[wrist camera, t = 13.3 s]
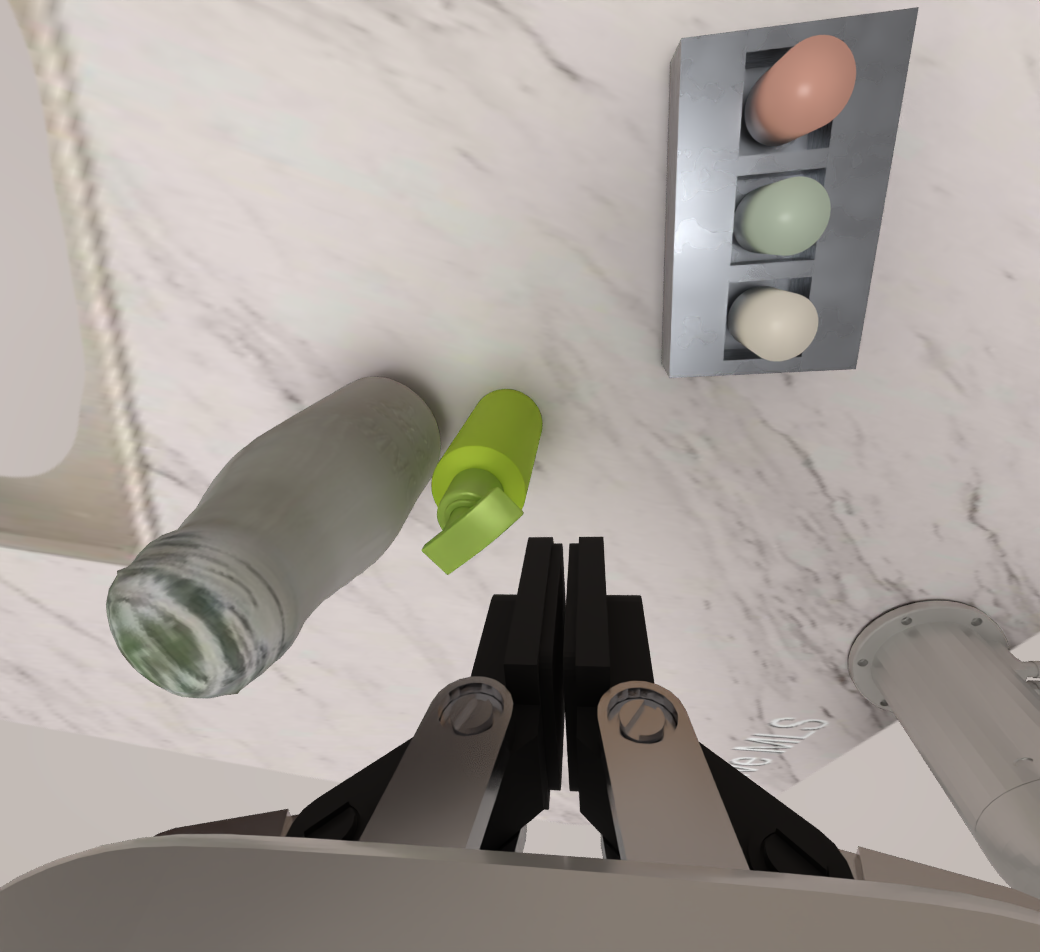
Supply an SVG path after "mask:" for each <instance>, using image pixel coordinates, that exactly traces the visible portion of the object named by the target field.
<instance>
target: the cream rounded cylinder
mask: <svg viewBox="0 0 1040 952" xmlns="http://www.w3.org/2000/svg"><path fill="white" fill-rule="evenodd" d="M728 328H729V331H730V333H731V335H732V336H733V338H734V339H735V340H736V341H738V342H739V343H741V344H742V345H743V346H745V347H746V348H748V349H749V350H751V351H752V352H754V353H755V354H757V355H758V356H760V357H761V358H763V359H765V360H769V361H785V360H789V359H791V358H794V357H796V356H797V355H799V354H801V353H802V352H803V351H804V350H805V349H806V348H807V347H808V346H809V345H810V344H811V342H812V341H813V339H814V337H815V335H816V332H817V329H818V314H817V311H816V308H815V307H814V305H813V304H812V302H811V301H810V300H808V299H807V298H806V297H804V296H802V295H800V294H796V293H792V292H789V291H785V290H781V289H777V288H773V287H770V286H757V287H753V288H750V289H748V290H746V291H745V292H743V293H742V294H741V295H739V296H738V297H737V298H736V300H735V301H734V302H733V304H732V306H731V308H730V310H729V313H728Z"/></svg>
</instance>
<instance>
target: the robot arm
mask: <svg viewBox="0 0 1040 952" xmlns="http://www.w3.org/2000/svg"><path fill="white" fill-rule="evenodd" d="M848 669H849V673H850V677H851V679H852V681H853V682H854V684H855V686H856V688H857V689H858V691H859V692H860V693H861V694H862V696H863V697H864V698H866V699H867V700H868V701H869V702H870V703H872V704H874V705H875V706H877V707H879V708H881V709H884V710H887V711H890V712H893V713H894V714H895V716H896V717H897V719H898V720H899V722H900V723H901V725H902V726H903V728H904V729H905V731H906V733H907V734H908V736H909V737H910V739H911V740H912V742H913V743H914V745H915V747H916V748H917V749H918V751H919V753H920V754H921V756H922V757H923V759H924V761H925V762H926V764H927V765H928V767H929V768H930V770H931V771H932V773H933V775H934V776H935V778H936V779H937V781H938V782H939V784H940V785H941V787H942V788H943V790H944V791H945V793H946V795H947V796H948V798H949V799H950V801H951V802H952V804H953V805H954V807H955V808H956V810H957V812H958V813H959V815H960V816H961V818H962V819H963V821H964V823H965V824H966V826H967V827H968V829H969V830H970V832H971V833H972V835H973V836H974V838H975V840H976V841H977V843H978V845H979V846H980V848H981V849H982V851H983V852H984V854H985V856H986V857H987V859H988V860H989V862H990V863H991V865H992V866H993V867H994V868H995V870H996V871H997V873H998V874H999V875H1000V876H1001V877H1002V878H1003V879H1004V880H1005V882H1006V883H1007V884H1008V885H1009V886H1010V887H1011V888H1008V887H1005V886H1001V885H997V884H994V883H990V882H986V881H983V880H979V879H976V878H972V877H968V876H964V875H961V874H957V873H954V872H950V871H946V870H943V869H939V868H936V867H932V866H928V865H925V864H921V863H917V862H914V861H910V860H906V859H903V858H899V857H896V856H892V855H888V854H884V853H881V852H877V851H874V850H870V849H866V848H863V847H859V846H858V849H857V853H856V854H855V853H851V852H847V851H844V850H840V849H838V848H837V847H836V845H835V844H834V843H833V842H832V841H831V840H829V839H828V838H827V837H826V836H825V835H824V834H823V833H822V832H821V831H820V830H818V829H817V828H816V827H814V826H813V825H812V824H810V823H809V822H807V821H806V820H805V819H803V818H802V817H801V816H799V815H798V814H797V813H795V812H794V811H793V810H791V809H790V808H788V807H787V806H786V805H784V804H783V803H782V802H780V801H779V800H778V799H776V798H775V797H773V796H772V795H771V794H769V793H768V792H767V791H765V790H764V789H763V788H761V787H760V786H758V785H757V784H756V783H754V782H753V781H752V780H750V779H749V778H748V777H746V776H745V775H743V774H742V773H741V772H739V771H738V770H737V769H735V768H734V767H733V766H731V765H730V764H728V763H727V762H726V761H724V760H723V759H722V758H720V757H719V756H718V755H716V754H715V753H714V752H712V751H711V750H709V749H708V748H707V747H705V746H704V745H703V744H701V743H700V742H699V741H698V739H697V736H696V734H695V731H694V729H693V726H692V724H691V721H690V719H689V716H688V714H687V711H686V709H685V708H684V706H683V704H682V703H681V701H680V700H679V699H678V698H677V697H676V696H675V695H674V694H673V693H672V692H671V691H669V690H667V689H665V688H663V687H661V686H660V685H657V684H654V678H653V671H652V664H651V658H650V651H649V644H648V638H647V631H646V624H645V617H644V611H643V604H642V598H641V596H640V595H606V579H605V560H604V541H603V537H579V543H570V546H569V563H568V579H567V596H566V601H565V582H564V562H563V546H562V544H554V542H553V537H529V538H528V542H527V547H526V553H525V558H524V563H523V568H522V573H521V578H520V583H519V588H518V593H517V595H503V594H494V595H493V597H492V599H491V603H490V606H489V610H488V614H487V618H486V621H485V625H484V629H483V633H482V636H481V640H480V644H479V647H478V651H477V655H476V659H475V662H474V666H473V670H472V674H471V677H467V678H463V679H459V680H457V681H455V682H453V683H450V684H448V685H447V686H446V687H445V688H443V689H442V690H441V691H440V692H439V693H438V694H437V695H436V697H435V698H434V699H433V701H432V702H431V704H430V706H429V708H428V710H427V712H426V714H425V716H424V718H423V719H422V721H421V723H420V725H419V727H418V729H417V731H416V733H415V735H414V737H413V738H411V739H409V740H408V741H406V742H405V743H403V744H402V745H400V746H398V747H397V748H395V749H394V750H392V751H391V752H389V753H388V754H386V755H384V756H383V757H381V758H380V759H378V760H377V761H375V762H373V763H372V764H370V765H369V766H367V767H366V768H364V769H362V770H361V771H359V772H358V773H356V774H355V775H353V776H352V777H350V778H348V779H347V780H345V781H344V782H342V783H341V784H339V785H338V786H336V787H334V788H333V789H331V790H330V791H328V792H326V793H325V794H323V795H322V796H320V797H319V798H317V799H316V800H314V801H313V802H312V803H311V804H309V805H308V806H307V807H306V808H304V809H303V810H302V812H301V813H300V814H299V815H292V816H291V815H290V812H289V810H288V809H284V810H279V811H273V812H267V813H262V814H255V815H249V816H244V817H237V818H231V819H226V820H220V821H214V822H208V823H202V824H197V825H190V826H184V827H179V828H174V829H171V830H168V831H165V832H162V833H159V834H157V835H155V836H154V837H145V838H138V839H132V840H127V841H122V842H117V843H111V844H106V845H102V846H99V847H96V848H93V849H89V850H86V851H83V852H80V853H76V854H73V855H70V856H66V857H63V858H60V859H58V860H55V861H52V862H50V863H47V864H45V865H43V866H40V867H38V868H36V869H34V870H31V871H29V872H27V873H25V874H23V875H21V876H19V877H17V878H15V879H13V880H12V881H10V882H9V883H7V884H5V885H4V886H2V887H0V952H1040V681H1027V682H1026V679H1027V677H1033V678H1040V661H1029V662H1021V661H1020V660H1019V659H1017V658H1015V657H1014V656H1013V655H1012V654H1011V653H1010V652H1009V649H1008V641H1007V639H1006V637H1005V635H1004V633H1003V631H1002V630H1001V629H1000V628H999V626H998V625H997V624H996V623H995V622H994V621H993V620H992V619H991V618H989V617H988V616H987V615H986V614H985V613H983V612H981V611H980V610H978V609H976V608H974V607H971V606H968V605H966V604H963V603H958V602H951V601H925V602H918V603H913V604H910V605H906V606H902V607H900V608H897V609H895V610H893V611H890V612H888V613H886V614H884V615H883V616H881V617H879V618H878V619H876V620H875V621H873V622H872V623H871V624H870V625H869V626H867V627H866V628H865V629H864V630H863V631H862V633H861V634H860V635H859V636H858V637H857V639H856V641H855V642H854V644H853V646H852V648H851V651H850V655H849V658H848ZM564 717H565V720H566V737H567V755H568V772H569V788H570V791H578V792H579V800H580V812H581V813H582V814H583V815H584V817H585V818H586V819H587V820H588V821H589V822H590V823H591V824H592V825H593V826H594V827H595V828H596V829H597V830H598V831H599V832H600V833H601V849H602V854H603V859H599V858H586V857H571V856H558V855H544V854H532V853H523V849H524V845H525V841H526V832H527V825H526V824H527V823H528V822H530V821H531V820H532V819H533V818H534V817H536V816H537V815H538V814H539V813H540V812H541V811H543V810H544V809H545V810H549V800H550V790H561V778H562V758H563V737H564Z"/></svg>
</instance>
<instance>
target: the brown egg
mask: <svg viewBox="0 0 1040 952" xmlns="http://www.w3.org/2000/svg"><path fill="white" fill-rule="evenodd" d="M855 80H856V64H855V60H854V56H853V54H852V52H851V50H850V49H849V47H848V46H847V45H846V44H845V43H844V42H843V41H842V40H840V39H838V38H836V37H834V36H830V35H816V36H812V37H809V38H807V39H805V40H803V41H801V42H799V43H798V44H796V45H795V46H794V47H793V48H791V49H790V50H789V51H788V52H787V53H786V54H785V55H784V56H783V57H782V58H781V59H780V60H779V61H777V62H776V63H775V64H774V65H773V66H772V67H771V68H770V69H769V70H768V71H767V72H766V73H765V74H764V75H762V76H761V77H760V78H759V79H758V81H757V82H756V83H755V84H754V86H753V87H752V89H751V91H750V93H749V95H748V98H747V101H746V105H745V123H746V126H747V129H748V131H749V133H750V134H751V136H752V137H753V138H754V139H755V140H756V141H758V142H759V143H761V144H763V145H767V146H780V145H784V144H786V143H789V142H791V141H793V140H795V139H797V138H799V137H801V136H803V135H806V134H808V133H810V132H812V131H814V130H816V129H818V128H820V127H822V126H824V125H826V124H828V123H829V122H830V121H832V120H833V119H834V118H835V117H836V116H837V115H838V114H839V113H840V112H841V111H842V110H843V108H844V107H845V105H846V104H847V102H848V100H849V99H850V96H851V94H852V92H853V88H854V85H855Z"/></svg>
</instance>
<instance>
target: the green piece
mask: <svg viewBox="0 0 1040 952" xmlns="http://www.w3.org/2000/svg"><path fill="white" fill-rule="evenodd" d="M830 211H831V206H830V199H829V196H828V193H827V192H826V190H825V188H824V187H823V186H822V185H821V184H820V183H819V182H817V181H816V180H814V179H812V178H808V177H802V176H801V177H791V178H788V179H785V180H781V181H778V182H775V183H771V184H768V185H765V186H761V187H759V188H756V189H754V190H753V191H751V192H750V193H749V194H747V195H746V196H745V197H744V198H743V200H742V201H741V202H740V204H739V205H738V207H737V209H736V212H735V215H734V222H733V232H734V235H735V238H736V240H737V242H738V243H739V244H740V245H741V246H742V247H743V248H744V249H746V250H747V251H750V252H753V253H760V254H771V255H782V256H788V255H794V254H798V253H800V252H802V251H804V250H806V249H808V248H809V247H811V246H812V245H813V244H814V243H815V242H816V241H817V240H818V239H819V238H820V237H821V235H822V234H823V232H824V231H825V229H826V227H827V224H828V221H829V218H830Z"/></svg>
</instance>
